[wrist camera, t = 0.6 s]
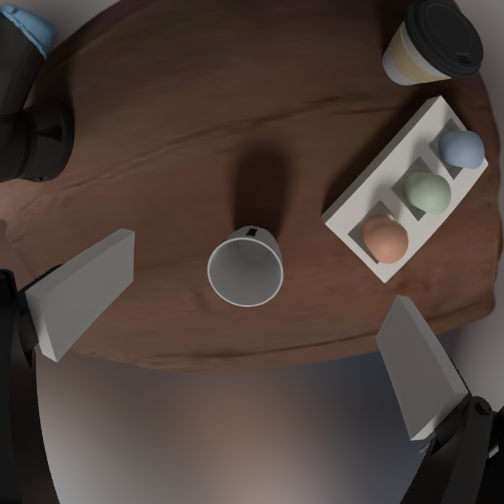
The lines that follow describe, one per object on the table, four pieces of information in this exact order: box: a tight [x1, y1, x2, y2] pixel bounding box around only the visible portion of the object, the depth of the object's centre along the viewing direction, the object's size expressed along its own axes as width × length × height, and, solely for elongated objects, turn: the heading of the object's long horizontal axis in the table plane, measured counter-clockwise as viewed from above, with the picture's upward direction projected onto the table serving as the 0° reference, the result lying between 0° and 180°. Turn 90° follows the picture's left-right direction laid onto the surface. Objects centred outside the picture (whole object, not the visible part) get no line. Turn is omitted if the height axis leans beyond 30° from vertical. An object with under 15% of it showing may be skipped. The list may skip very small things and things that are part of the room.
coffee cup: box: [382, 0, 483, 85], centre depth 20 cm, size 9×9×15 cm
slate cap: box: [438, 131, 484, 169], centre depth 25 cm, size 5×5×5 cm
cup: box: [208, 226, 283, 307], centre depth 34 cm, size 8×8×10 cm
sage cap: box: [403, 171, 451, 215], centre depth 27 cm, size 5×5×5 cm
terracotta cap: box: [361, 214, 409, 264], centre depth 30 cm, size 5×5×5 cm
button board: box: [321, 96, 488, 283], centre depth 31 cm, size 12×24×4 cm, turn 140°
